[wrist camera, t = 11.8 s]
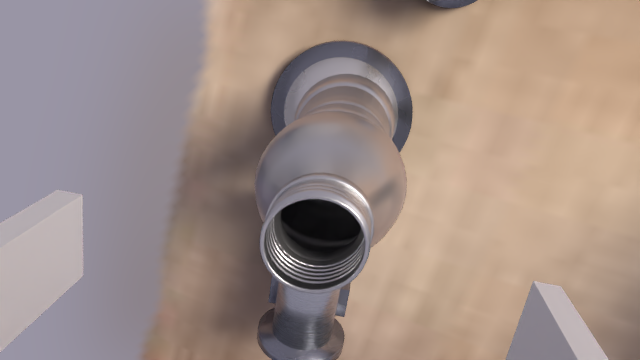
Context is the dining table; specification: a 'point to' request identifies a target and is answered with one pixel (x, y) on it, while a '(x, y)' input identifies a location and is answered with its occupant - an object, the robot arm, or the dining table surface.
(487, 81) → the dining table surface
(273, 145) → the plastic bottle
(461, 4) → the metal thimble
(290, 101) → the grey metal parts
